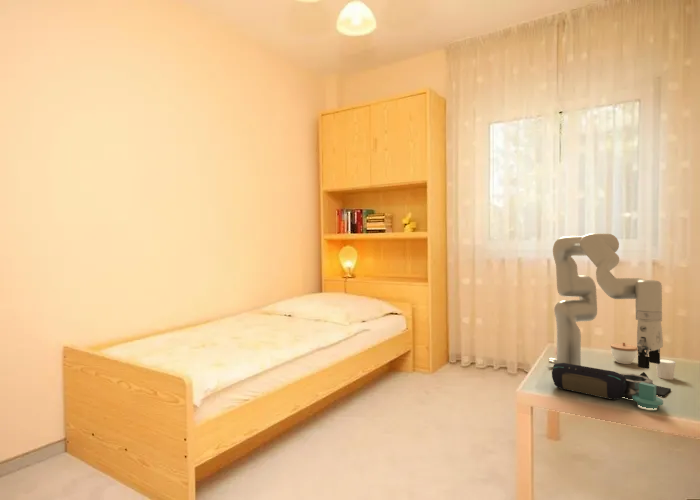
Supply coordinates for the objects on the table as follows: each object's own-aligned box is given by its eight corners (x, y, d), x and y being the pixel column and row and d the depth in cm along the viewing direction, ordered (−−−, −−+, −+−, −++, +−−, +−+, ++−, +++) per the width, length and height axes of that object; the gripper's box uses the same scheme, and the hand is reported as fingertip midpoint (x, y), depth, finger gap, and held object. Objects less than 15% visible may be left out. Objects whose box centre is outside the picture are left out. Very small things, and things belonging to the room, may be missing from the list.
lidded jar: (629, 366, 198) (629, 346, 198) (605, 361, 207) (606, 341, 207) (641, 363, 203) (642, 343, 203) (618, 358, 213) (618, 339, 212)
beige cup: (678, 380, 179) (679, 363, 178) (660, 379, 180) (660, 362, 180) (670, 375, 185) (670, 359, 185) (652, 374, 187) (652, 358, 187)
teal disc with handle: (628, 406, 151) (628, 383, 150) (638, 401, 156) (638, 378, 156) (657, 414, 144) (657, 390, 143) (666, 408, 149) (667, 385, 149)
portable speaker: (548, 389, 168) (548, 364, 168) (555, 382, 176) (555, 358, 176) (623, 405, 152) (623, 377, 151) (628, 397, 159) (628, 370, 159)
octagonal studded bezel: (612, 395, 161) (612, 377, 161) (624, 389, 167) (624, 371, 167) (644, 404, 153) (644, 384, 153) (655, 397, 159) (655, 378, 159)
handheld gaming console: (671, 394, 158) (651, 369, 163) (652, 403, 161) (633, 378, 166) (672, 390, 167) (653, 366, 172) (654, 398, 170) (636, 375, 175)
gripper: (651, 319, 141) (652, 372, 141) (670, 314, 151) (670, 363, 151) (626, 317, 147) (626, 367, 147) (645, 312, 157) (646, 359, 157)
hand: (649, 365), depth 149 cm, fingers open, 9 cm apart
